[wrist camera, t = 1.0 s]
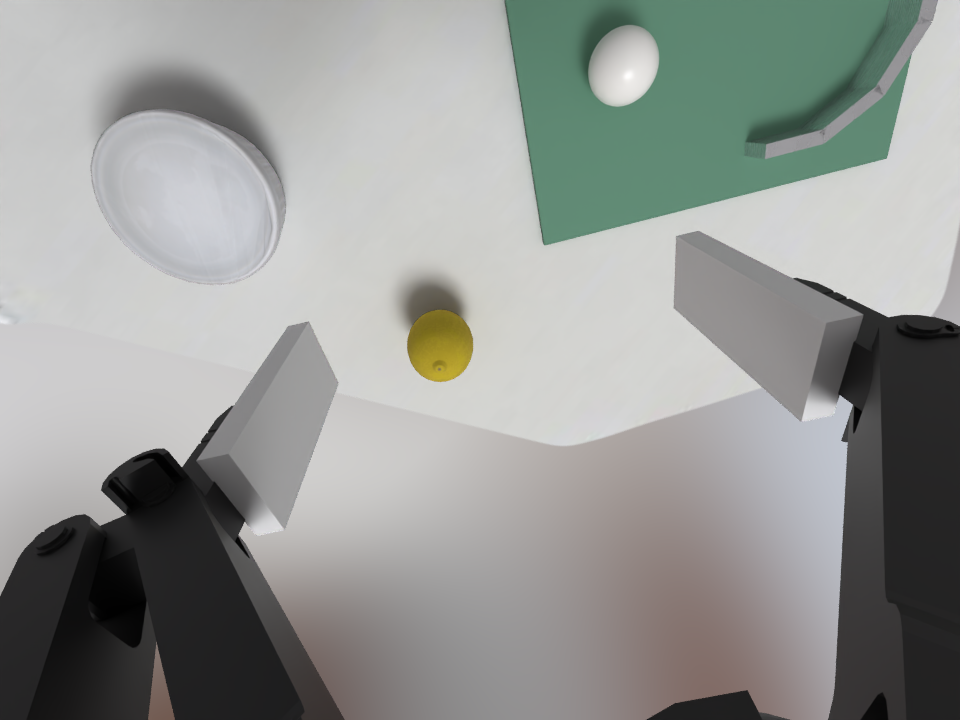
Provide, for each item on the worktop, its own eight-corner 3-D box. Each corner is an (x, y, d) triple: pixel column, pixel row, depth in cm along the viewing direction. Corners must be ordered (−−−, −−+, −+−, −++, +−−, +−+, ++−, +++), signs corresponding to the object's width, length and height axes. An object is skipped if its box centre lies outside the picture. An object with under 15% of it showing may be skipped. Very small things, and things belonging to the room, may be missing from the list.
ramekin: (329, 222, 34) (311, 239, 30) (223, 287, 36) (191, 312, 32) (224, 75, 29) (182, 68, 24) (106, 161, 31) (48, 169, 26)
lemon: (427, 285, 37) (423, 325, 30) (481, 313, 39) (489, 356, 32) (400, 334, 39) (391, 382, 33) (452, 359, 41) (454, 408, 34)
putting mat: (485, -119, 25) (486, -123, 24) (981, -272, 23) (991, -280, 23) (543, 243, 36) (544, 245, 36) (881, 157, 34) (886, 158, 34)
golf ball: (577, 41, 29) (596, 30, 25) (641, 22, 28) (671, 9, 25) (583, 114, 31) (603, 114, 27) (643, 97, 31) (671, 95, 27)
